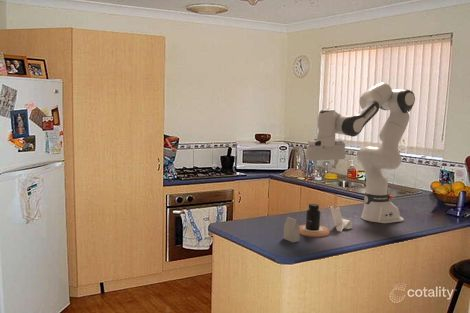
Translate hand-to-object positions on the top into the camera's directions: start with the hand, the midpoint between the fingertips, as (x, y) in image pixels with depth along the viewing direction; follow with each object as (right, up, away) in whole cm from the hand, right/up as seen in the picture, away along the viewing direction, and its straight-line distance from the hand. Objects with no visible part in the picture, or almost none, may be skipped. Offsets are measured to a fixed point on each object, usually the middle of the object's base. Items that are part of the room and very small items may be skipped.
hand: (325, 168), depth 250 cm
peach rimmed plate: (-8, -30, -10) cm, 33 cm away
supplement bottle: (-8, -29, -11) cm, 32 cm away
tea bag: (-20, -32, -24) cm, 45 cm away
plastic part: (+7, -30, -2) cm, 31 cm away
